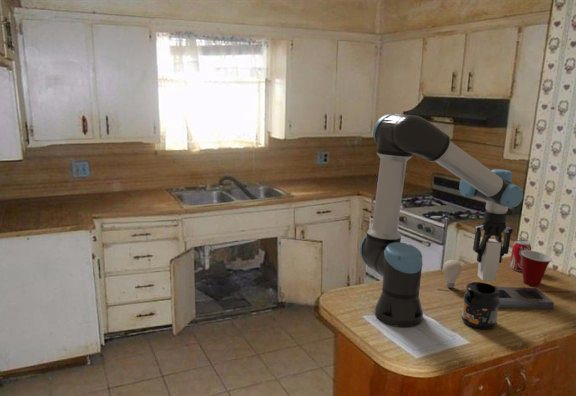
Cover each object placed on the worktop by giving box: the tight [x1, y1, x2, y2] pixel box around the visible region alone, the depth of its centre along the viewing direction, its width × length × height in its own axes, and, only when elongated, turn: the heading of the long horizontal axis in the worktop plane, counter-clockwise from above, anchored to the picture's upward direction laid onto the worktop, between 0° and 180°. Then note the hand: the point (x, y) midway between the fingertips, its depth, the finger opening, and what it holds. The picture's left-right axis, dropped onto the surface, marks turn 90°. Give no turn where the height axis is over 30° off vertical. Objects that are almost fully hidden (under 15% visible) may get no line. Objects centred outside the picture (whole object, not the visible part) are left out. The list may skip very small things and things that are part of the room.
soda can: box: [509, 239, 532, 272], centre depth 192 cm, size 7×7×12 cm
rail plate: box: [495, 286, 555, 310], centre depth 163 cm, size 22×12×2 cm, turn 89°
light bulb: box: [442, 259, 462, 289], centre depth 172 cm, size 7×7×11 cm
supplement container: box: [461, 281, 500, 330], centre depth 146 cm, size 10×10×12 cm
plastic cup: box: [521, 250, 553, 287], centre depth 178 cm, size 11×11×12 cm
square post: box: [477, 238, 501, 282], centre depth 174 cm, size 5×5×15 cm
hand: (487, 270), depth 175 cm, fingers closed on square post, 5 cm apart
